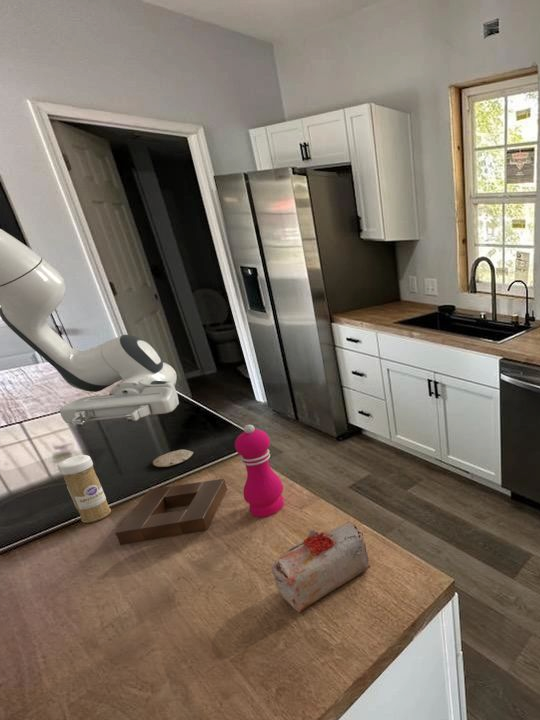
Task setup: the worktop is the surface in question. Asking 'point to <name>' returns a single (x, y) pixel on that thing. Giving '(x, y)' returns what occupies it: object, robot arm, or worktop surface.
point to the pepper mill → (259, 473)
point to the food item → (320, 565)
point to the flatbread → (172, 458)
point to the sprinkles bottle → (84, 488)
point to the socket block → (157, 524)
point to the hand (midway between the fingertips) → (104, 420)
